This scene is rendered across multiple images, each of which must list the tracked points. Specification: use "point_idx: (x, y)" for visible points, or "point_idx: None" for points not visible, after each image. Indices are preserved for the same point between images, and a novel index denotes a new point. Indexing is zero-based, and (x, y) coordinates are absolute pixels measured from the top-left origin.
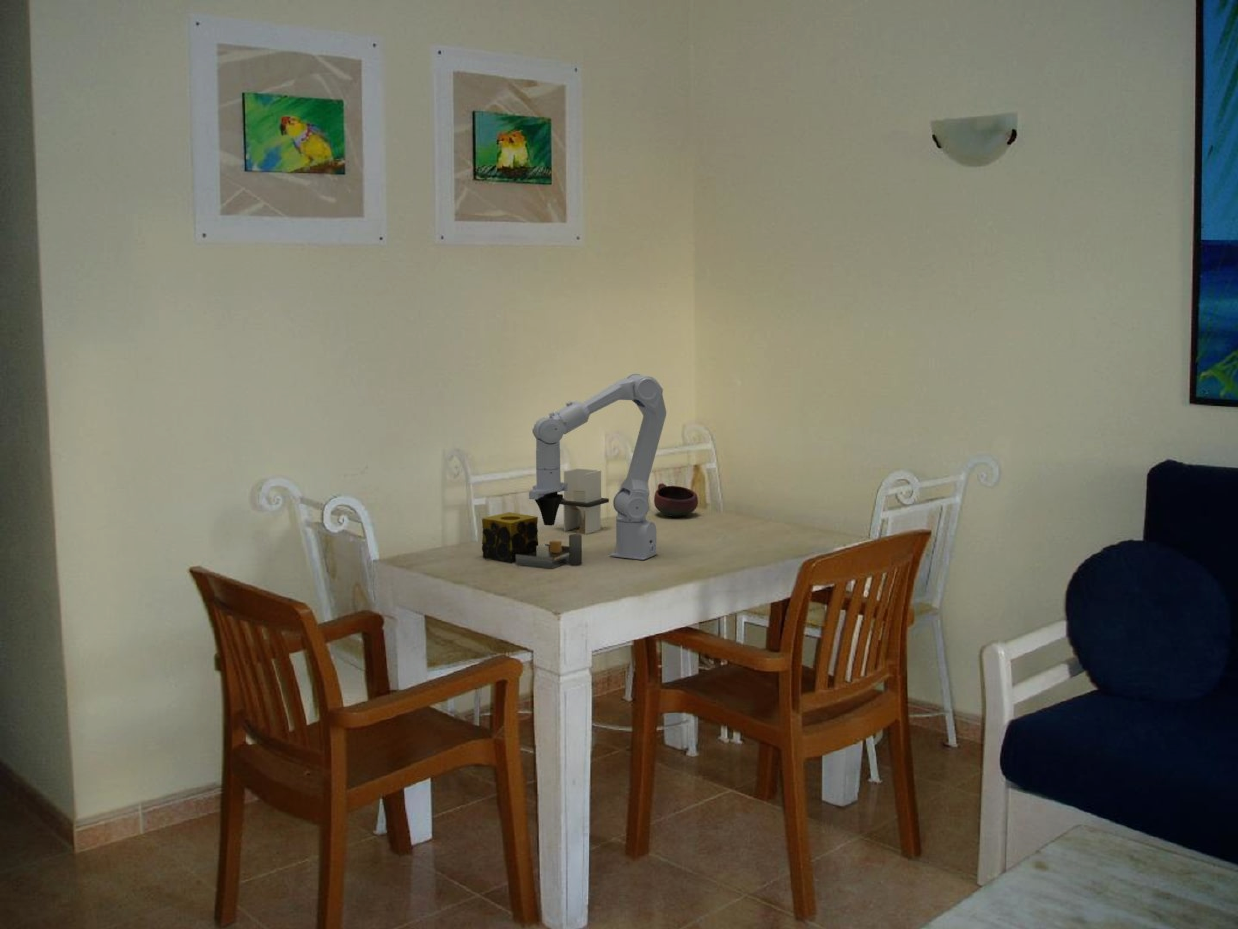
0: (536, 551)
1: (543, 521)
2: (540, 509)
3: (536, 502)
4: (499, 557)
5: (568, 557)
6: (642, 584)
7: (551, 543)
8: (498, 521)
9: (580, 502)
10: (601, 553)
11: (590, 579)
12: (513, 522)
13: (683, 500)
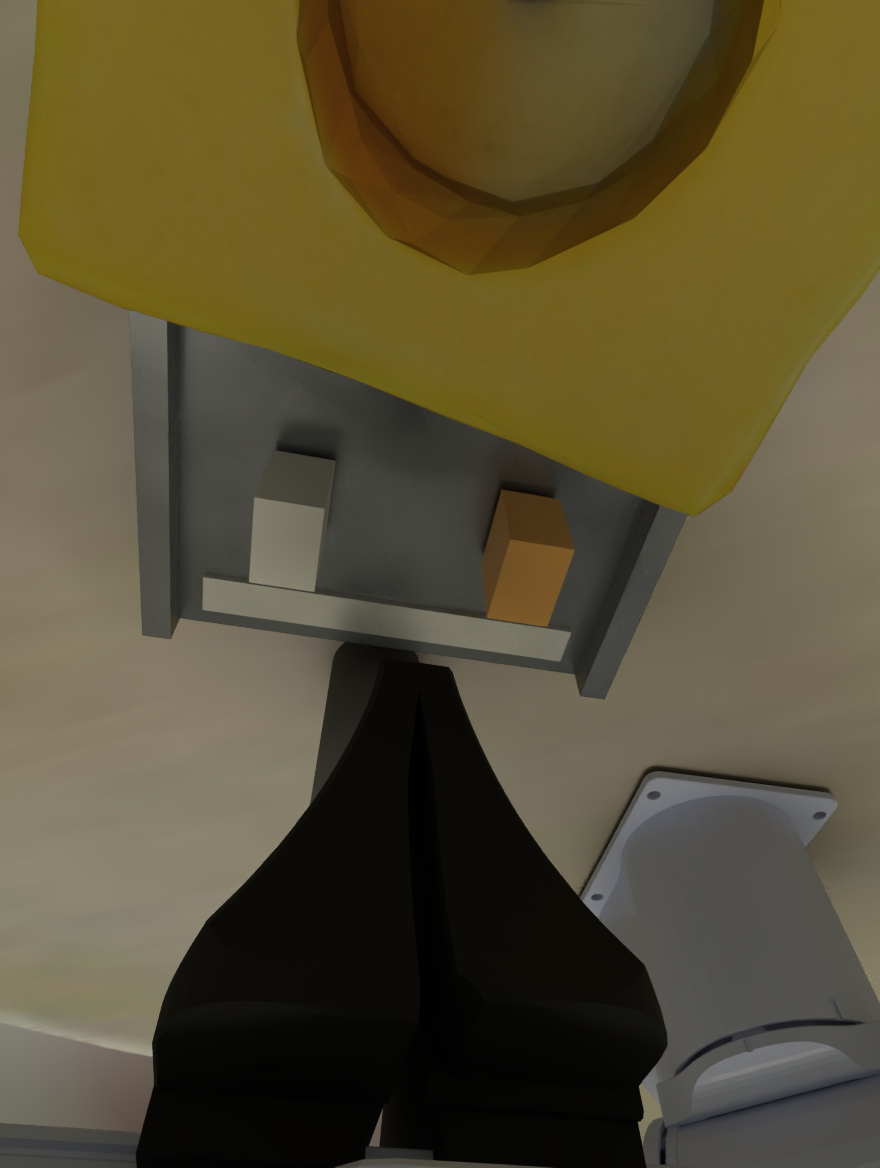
0: (264, 471)
1: (374, 684)
2: (312, 808)
3: (240, 890)
4: None
5: (403, 646)
6: (98, 978)
7: (504, 548)
8: None
9: None
10: (756, 707)
11: (51, 820)
12: (104, 296)
13: None
